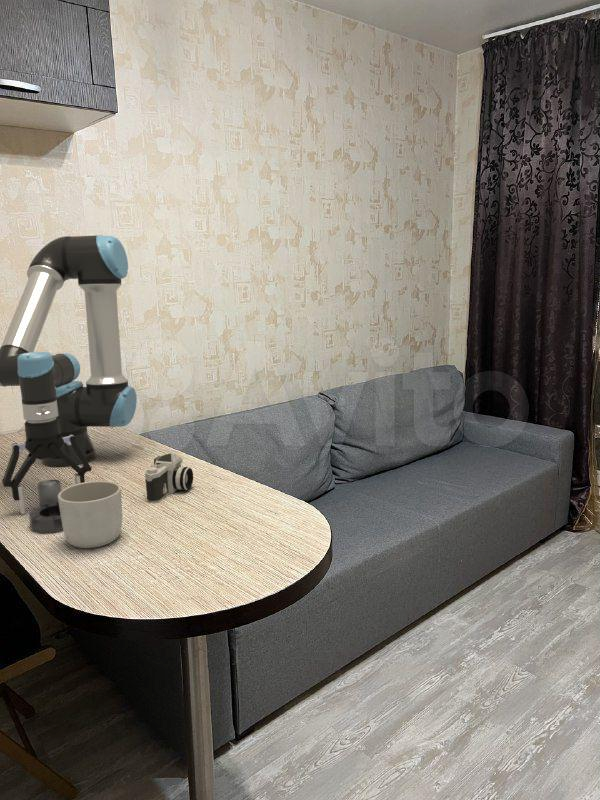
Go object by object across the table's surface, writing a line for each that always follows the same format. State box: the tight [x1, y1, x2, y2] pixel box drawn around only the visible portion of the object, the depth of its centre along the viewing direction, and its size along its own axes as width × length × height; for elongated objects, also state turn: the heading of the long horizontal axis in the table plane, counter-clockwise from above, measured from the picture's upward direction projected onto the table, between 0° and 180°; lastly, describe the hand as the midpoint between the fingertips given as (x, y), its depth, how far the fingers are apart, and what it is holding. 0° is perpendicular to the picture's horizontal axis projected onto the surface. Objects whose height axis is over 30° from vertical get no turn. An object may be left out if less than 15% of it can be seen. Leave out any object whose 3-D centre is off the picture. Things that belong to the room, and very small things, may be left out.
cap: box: [37, 479, 62, 507], centre depth 148 cm, size 5×5×6 cm
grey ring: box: [28, 502, 64, 535], centre depth 139 cm, size 10×10×3 cm
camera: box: [144, 452, 194, 504], centre depth 156 cm, size 16×9×10 cm, turn 167°
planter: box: [58, 480, 123, 549], centre depth 129 cm, size 12×12×11 cm
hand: (51, 506), depth 148 cm, fingers open, 12 cm apart
